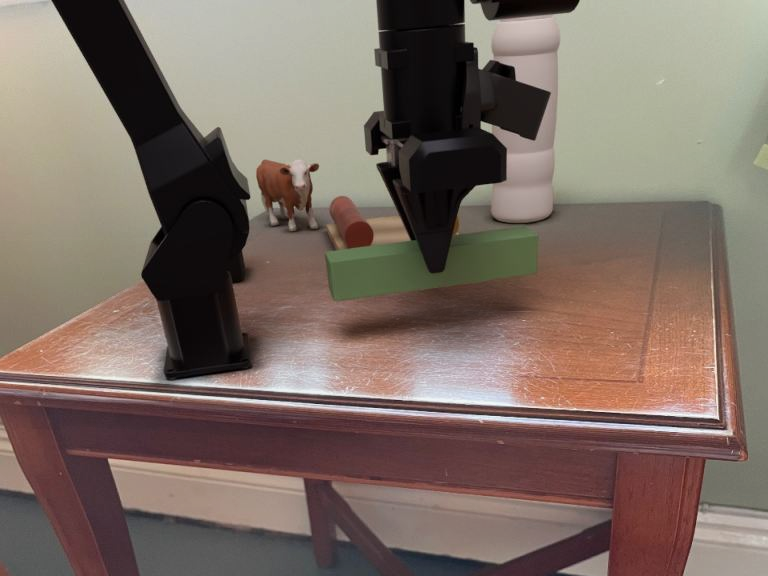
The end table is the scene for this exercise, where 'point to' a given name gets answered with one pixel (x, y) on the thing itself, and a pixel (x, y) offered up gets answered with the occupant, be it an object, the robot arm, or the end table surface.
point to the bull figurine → (287, 189)
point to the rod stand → (364, 227)
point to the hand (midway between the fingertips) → (431, 266)
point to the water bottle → (536, 158)
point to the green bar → (410, 273)
